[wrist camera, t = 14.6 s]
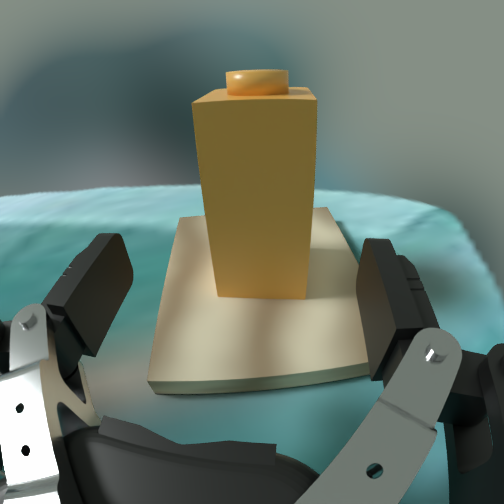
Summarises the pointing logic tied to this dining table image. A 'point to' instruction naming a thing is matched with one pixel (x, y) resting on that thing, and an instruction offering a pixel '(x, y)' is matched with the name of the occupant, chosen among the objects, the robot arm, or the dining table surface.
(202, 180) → the tall orange toy brick
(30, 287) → the dining table surface
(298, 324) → the beige board with knob
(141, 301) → the dining table surface
